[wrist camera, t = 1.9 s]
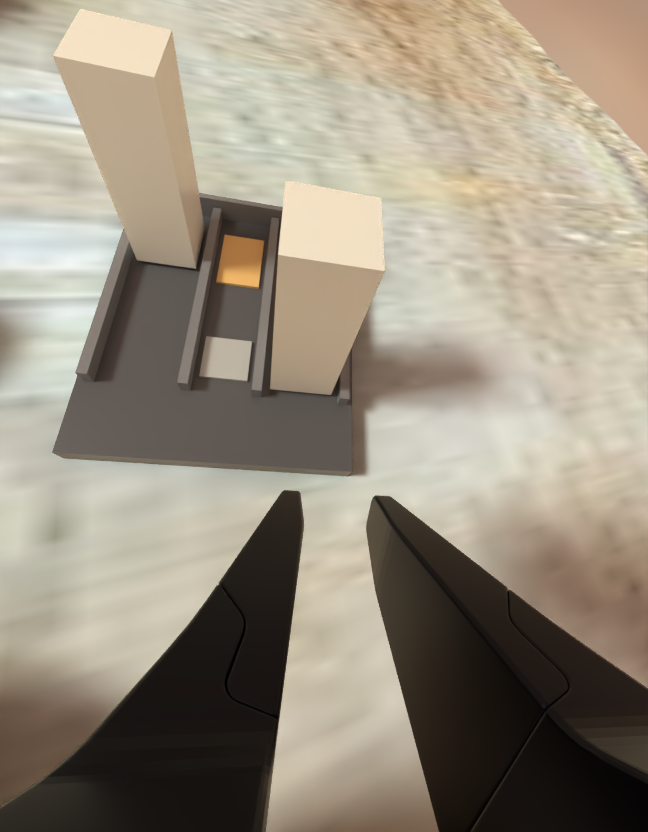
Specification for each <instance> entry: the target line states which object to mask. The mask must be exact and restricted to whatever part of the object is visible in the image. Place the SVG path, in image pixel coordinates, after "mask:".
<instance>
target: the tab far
mask: <svg viewBox="0 0 648 832" xmlns="http://www.w3.org/2000/svg"><path fill="white" fill-rule="evenodd" d="M53 57H54V60H55V62H56V65H57V67H58V70H59V72H60V74H61V77H62V79H63V82H64V84H65V87H66V89H67V91H68V94H69V96H70V99H71V101H72V104H73V106H74V108H75V111H76V113H77V116H78V118H79V121H80V123H81V125H82V128H83V130H84V133H85V135H86V138H87V140H88V142H89V145H90V147H91V150H92V152H93V155H94V157H95V160H96V162H97V164H98V167H99V169H100V172H101V174H102V177H103V179H104V181H105V184H106V186H107V189H108V191H109V194H110V196H111V198H112V201H113V203H114V206H115V208H116V211H117V213H118V215H119V218H120V220H121V223H122V225H123V228H124V230H125V233H126V235H127V237H128V240H129V242H130V245H131V247H132V250H133V252H134V254H135V257H136V259H137V260H138V261H145V262H152V263H159V264H167V265H174V266H181V267H188V268H195V269H196V267H197V262H198V258H199V253H200V248H201V244H202V239H203V234H204V229H205V227H204V221H203V215H202V209H201V203H200V197H199V191H198V185H197V179H196V173H195V167H194V161H193V155H192V149H191V143H190V137H189V131H188V125H187V119H186V113H185V107H184V101H183V95H182V89H181V83H180V77H179V71H178V65H177V59H176V53H175V47H174V41H173V35H172V30H169V29H164V28H160V27H156V26H152V25H147V24H143V23H139V22H135V21H130V20H126V19H122V18H117V17H113V16H109V15H105V14H100V13H96V12H92V11H88V10H83V9H80V10H79V12H78V14H77V15H76V17H75V19H74V21H73V22H72V24H71V26H70V27H69V29H68V31H67V32H66V34H65V36H64V37H63V39H62V41H61V43H60V44H59V46H58V48H57V49H56V51H55V53H54V54H53Z"/></svg>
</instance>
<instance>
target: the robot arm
mask: <svg viewBox="0 0 648 832" xmlns="http://www.w3.org/2000/svg"><path fill="white" fill-rule="evenodd" d="M303 531H304V517H303V509H302V502H301V494H300V492H299V491H288V490H284V491H283V492H282V493H281V494H280V496H279V497H278V498H277V500H276V501H275V503H274V504H273V506H272V507H271V508H270V510H269V511H268V513H267V514H266V516H265V517H264V519H263V520H262V521H261V523H260V524H259V526H258V527H257V529H256V530H255V532H254V533H253V534H252V536H251V537H250V539H249V540H248V542H247V543H246V544H245V546H244V547H243V549H242V550H241V552H240V553H239V555H238V556H237V557H236V559H235V560H234V562H233V563H232V565H231V566H230V568H229V569H228V570H227V572H226V573H225V575H224V576H223V578H222V579H221V580H220V582H219V585H217V586H216V587H215V589H214V590H213V592H212V593H211V595H210V596H209V597H208V599H207V600H206V602H205V603H204V604H203V606H202V607H201V608H200V610H199V611H198V612H197V614H196V615H195V616H194V618H193V619H192V620H191V622H190V623H189V624H188V625H187V627H186V628H185V629H184V630H183V631H182V633H181V634H180V635H179V636H178V637H177V639H176V640H175V641H174V642H173V643H172V644H171V646H170V647H169V648H168V649H167V650H166V651H165V653H164V654H163V655H162V656H161V657H160V658H159V659H158V660H157V662H156V663H155V664H154V665H153V666H152V667H151V668H150V669H149V671H148V672H147V673H146V674H145V675H144V676H143V677H142V678H141V680H140V681H139V682H138V683H137V684H136V685H135V686H134V687H133V689H132V690H131V691H130V692H129V693H128V694H127V695H126V696H125V698H124V699H123V700H122V701H121V702H120V703H119V704H118V705H117V707H116V708H115V709H114V710H113V711H112V712H111V713H110V714H109V716H108V717H107V718H106V719H105V720H104V721H103V722H102V723H101V725H100V726H99V727H98V728H97V729H96V730H95V731H94V732H93V733H92V734H91V735H90V736H89V738H88V739H87V740H86V741H85V742H84V743H83V744H82V745H81V746H80V747H79V748H78V749H77V750H76V751H75V752H73V753H72V754H71V755H70V756H69V757H68V758H67V759H66V760H64V761H63V762H62V763H61V764H60V765H59V766H58V767H56V768H55V769H54V770H53V771H51V772H50V773H49V774H48V775H46V776H45V777H44V778H42V779H41V780H40V781H38V782H37V783H35V784H34V785H32V786H31V787H29V788H28V789H26V790H25V791H23V792H22V793H20V794H19V795H17V796H16V797H14V798H12V799H11V800H9V801H8V802H6V803H5V804H3V805H2V806H0V832H266V825H267V816H268V807H269V799H270V790H271V782H272V773H273V765H274V757H275V749H276V741H277V733H278V724H279V718H280V710H281V702H282V694H283V686H284V679H285V671H286V663H287V655H288V648H289V640H290V632H291V624H292V616H293V609H294V601H295V593H296V585H297V578H298V570H299V562H300V554H301V546H302V539H303ZM366 531H367V538H368V545H369V552H370V559H371V565H372V572H373V579H374V585H375V591H376V595H377V599H378V603H379V607H380V611H381V615H382V618H383V622H384V626H385V630H386V633H387V637H388V641H389V645H390V648H391V652H392V656H393V660H394V664H395V667H396V671H397V675H398V679H399V682H400V686H401V690H402V694H403V697H404V701H405V705H406V709H407V713H408V716H409V720H410V724H411V728H412V731H413V735H414V739H415V743H416V746H417V750H418V754H419V758H420V762H421V765H422V769H423V773H424V777H425V780H426V784H427V788H428V792H429V795H430V799H431V803H432V807H433V811H434V814H435V818H436V822H437V826H438V829H439V832H648V688H646V687H645V686H643V685H642V684H641V683H639V682H638V681H636V680H635V679H633V678H632V677H630V676H629V675H627V674H626V673H625V672H623V671H622V670H620V669H619V668H617V667H616V666H614V665H613V664H612V663H610V662H609V661H607V660H606V659H604V658H603V657H601V656H600V655H599V654H597V653H596V652H594V651H593V650H591V649H590V648H588V647H587V646H585V645H584V644H583V643H581V642H580V641H578V640H577V639H576V638H574V637H573V636H571V635H570V634H569V633H567V632H566V631H564V630H563V629H561V628H560V627H559V626H557V625H556V624H554V623H553V622H552V621H550V620H549V619H548V618H546V617H545V616H544V615H542V614H541V613H540V612H538V611H537V610H536V609H534V608H533V607H532V606H530V605H529V604H528V603H527V602H525V601H524V600H523V599H521V598H520V597H519V596H518V595H516V594H515V593H514V592H512V591H511V590H508V589H507V587H506V586H505V585H503V584H502V583H501V582H499V581H498V580H497V579H496V578H494V577H493V576H492V575H491V574H489V573H488V572H487V571H485V570H484V569H483V568H482V567H480V566H479V565H478V564H476V563H475V562H474V561H473V560H471V559H470V558H469V557H467V556H466V555H465V554H464V553H462V552H461V551H460V550H458V549H457V548H456V547H455V546H453V545H452V544H451V543H449V542H448V541H447V540H446V539H444V538H443V537H442V536H440V535H439V534H438V533H437V532H435V531H434V530H433V529H432V528H430V527H429V526H428V525H426V524H425V523H424V522H423V521H421V520H420V519H419V518H417V517H416V516H415V515H414V514H412V513H411V512H410V511H408V510H407V509H406V508H405V507H403V506H402V505H401V504H399V503H398V502H397V501H396V500H394V499H393V498H392V497H390V496H374V497H373V499H372V502H371V506H370V511H369V515H368V519H367V525H366Z"/></svg>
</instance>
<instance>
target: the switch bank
mask: <svg viewBox="0 0 648 832" xmlns="http://www.w3.org/2000/svg"><path fill="white" fill-rule="evenodd" d="M199 197H200V203H201V209H202V215H203V221H204V227H205V229H204V234H203V239H202V244H201V248H200V253H199V258H198V262H197V267H196V269H195V268H188V267H181V266H174V265H167V264H159V263H152V262H145V261H138V260H137V259H136V257H135V254H134V252H133V250H132V247H131V245H130V242H129V240H128V237H127V235H126V233H125V230H124V229H123V232H122V235H121V238H120V241H119V244H118V247H117V250H116V253H115V256H114V259H113V262H112V265H111V268H110V271H109V274H108V277H107V280H106V283H105V286H104V289H103V292H102V295H101V298H100V301H99V304H98V307H97V310H96V313H95V316H94V319H93V322H92V325H91V328H90V331H89V334H88V337H87V340H86V343H85V346H84V348H83V351H82V354H81V357H80V360H79V363H78V366H77V369H76V372H75V373H76V374H77V375H78V376H77V379H76V382H75V385H74V388H73V391H72V394H71V397H70V400H69V403H68V406H67V409H66V412H65V415H64V418H63V421H62V424H61V427H60V430H59V434H58V437H57V440H56V443H55V446H54V449H53V452H52V453H54V454H56V455H58V456H60V457H62V458H70V459H86V460H102V461H117V462H133V463H149V464H165V465H181V466H197V467H212V468H228V469H244V470H260V471H276V472H291V473H307V474H323V475H339V476H348V475H349V474H351V473H352V348H351V350H350V352H349V354H348V357H347V359H346V361H345V364H344V366H343V368H342V371H341V373H340V375H339V377H338V380H337V382H336V384H335V387H334V389H333V391H332V394H331V395H325V394H314V393H304V392H294V391H283V390H273V389H270V380H271V363H272V347H273V330H274V314H275V298H276V281H277V265H278V251H279V241H280V231H281V221H282V210H283V207H278V206H272V205H266V204H260V203H255V202H249V201H243V200H237V199H231V198H226V197H220V196H214V195H208V194H202V193H199Z"/></svg>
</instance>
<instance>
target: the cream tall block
mask: <svg viewBox="0 0 648 832" xmlns="http://www.w3.org/2000/svg"><path fill="white" fill-rule="evenodd" d="M384 272H385V266H384V247H383V228H382V209H381V198H379V197H374V196H368V195H363V194H357V193H352V192H346V191H341V190H336V189H330V188H325V187H319V186H314V185H308V184H303V183H297V182H292V181H286V180H285V190H284V200H283V210H282V221H281V231H280V241H279V251H278V265H277V281H276V298H275V314H274V330H273V347H272V363H271V380H270V389H273V390H283V391H294V392H304V393H314V394H325V395H331V394H332V391H333V389H334V387H335V384H336V382H337V380H338V377H339V375H340V373H341V371H342V368H343V366H344V364H345V361H346V359H347V357H348V354H349V352H350V350H351V348H352V345H353V343H354V341H355V338H356V336H357V334H358V331H359V329H360V327H361V325H362V322H363V320H364V318H365V315H366V313H367V311H368V308H369V306H370V304H371V302H372V299H373V297H374V295H375V292H376V290H377V288H378V285H379V283H380V281H381V279H382V276H383V274H384Z"/></svg>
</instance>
